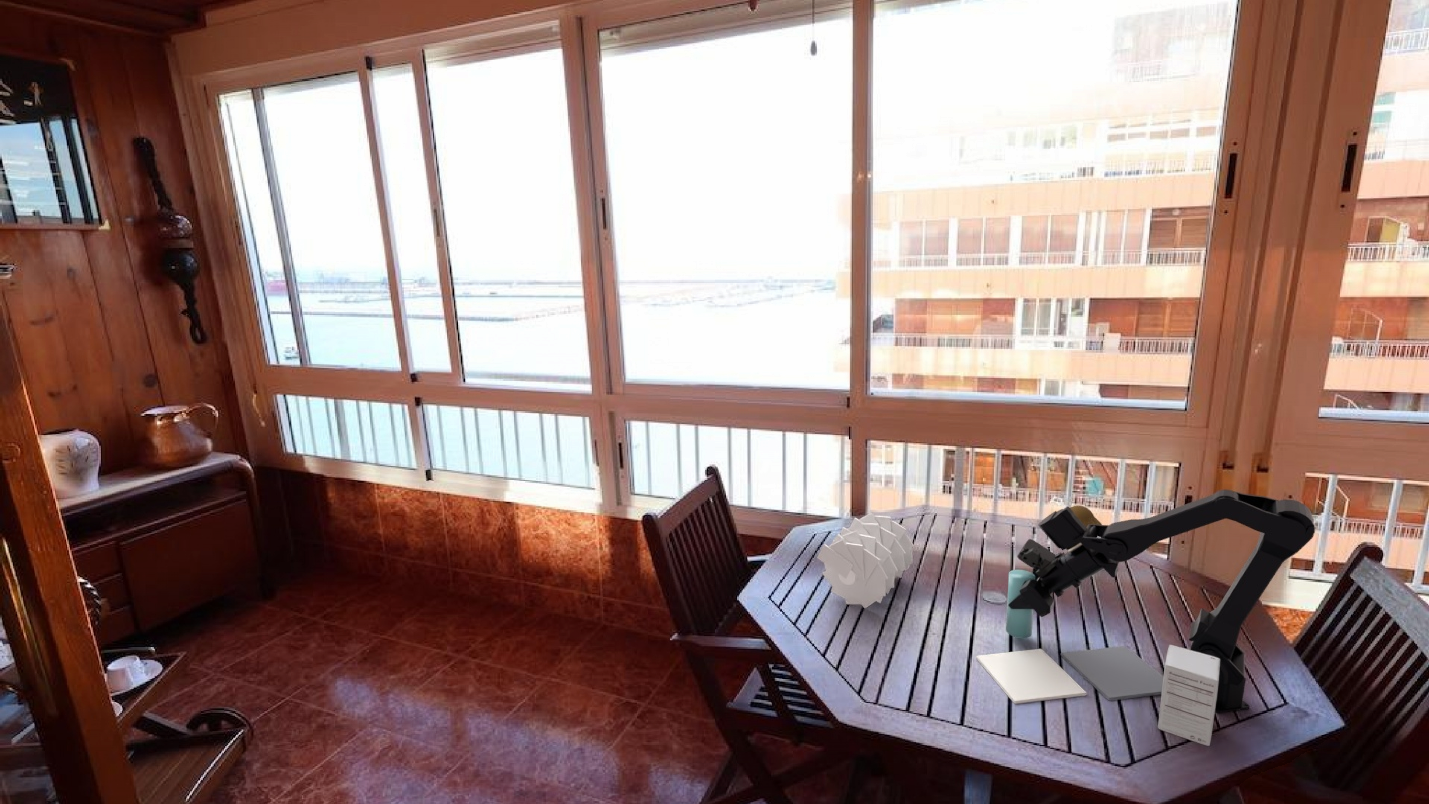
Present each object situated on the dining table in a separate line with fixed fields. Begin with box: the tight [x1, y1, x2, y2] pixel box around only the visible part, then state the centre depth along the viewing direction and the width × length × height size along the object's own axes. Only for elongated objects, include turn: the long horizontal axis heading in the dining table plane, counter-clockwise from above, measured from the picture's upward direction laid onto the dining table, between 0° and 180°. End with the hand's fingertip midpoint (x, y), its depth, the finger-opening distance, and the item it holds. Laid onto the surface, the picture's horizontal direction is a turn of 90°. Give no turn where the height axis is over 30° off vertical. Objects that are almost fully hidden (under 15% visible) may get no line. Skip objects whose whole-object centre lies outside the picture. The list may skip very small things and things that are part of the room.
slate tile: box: [1060, 645, 1164, 701], centre depth 127 cm, size 14×14×1 cm
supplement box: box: [1157, 644, 1220, 747], centre depth 112 cm, size 7×7×13 cm
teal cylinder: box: [1005, 569, 1035, 639], centre depth 138 cm, size 5×5×13 cm
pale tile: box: [975, 648, 1087, 704], centre depth 128 cm, size 14×14×1 cm
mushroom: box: [1068, 505, 1103, 552], centre depth 172 cm, size 9×11×15 cm
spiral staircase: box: [816, 512, 915, 609], centre depth 161 cm, size 18×18×25 cm
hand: (1013, 601), depth 139 cm, fingers closed on teal cylinder, 5 cm apart
